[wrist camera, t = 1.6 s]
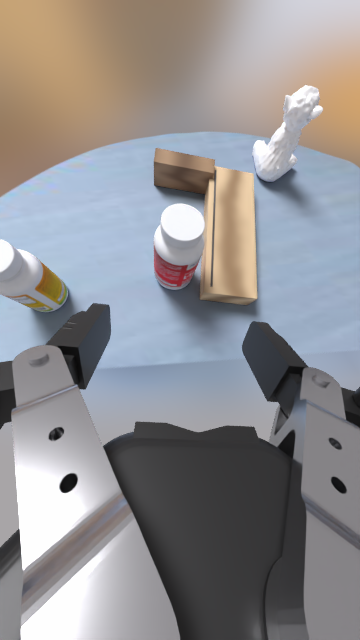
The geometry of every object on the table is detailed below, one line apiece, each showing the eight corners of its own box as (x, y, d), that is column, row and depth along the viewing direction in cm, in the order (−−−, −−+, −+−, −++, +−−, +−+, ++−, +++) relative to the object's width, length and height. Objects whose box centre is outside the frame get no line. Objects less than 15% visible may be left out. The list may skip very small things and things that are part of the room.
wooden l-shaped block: (245, 189, 36) (256, 167, 32) (247, 305, 30) (261, 296, 26) (155, 172, 34) (155, 147, 30) (138, 292, 28) (136, 280, 24)
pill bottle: (184, 297, 29) (200, 257, 18) (148, 281, 29) (143, 232, 18) (197, 265, 30) (219, 211, 20) (163, 250, 30) (167, 188, 20)
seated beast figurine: (292, 166, 39) (350, 83, 28) (284, 195, 37) (342, 117, 25) (252, 148, 39) (293, 56, 27) (241, 175, 37) (280, 88, 25)
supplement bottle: (56, 271, 27) (3, 221, 18) (76, 298, 27) (33, 262, 17) (20, 291, 26) (-56, 249, 17) (41, 320, 25) (-26, 294, 16)
